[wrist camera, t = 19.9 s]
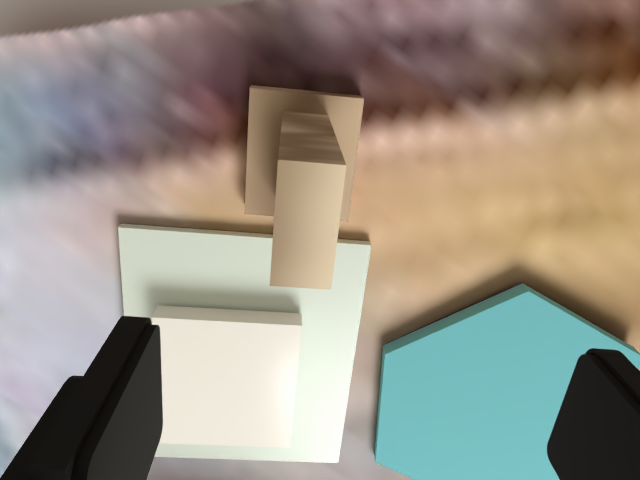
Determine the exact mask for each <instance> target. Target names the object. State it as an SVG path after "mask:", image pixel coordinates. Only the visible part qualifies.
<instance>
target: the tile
mask: <svg viewBox="0 0 640 480" xmlns="http://www.w3.org/2000/svg"><path fill="white" fill-rule="evenodd" d="M152 325H159V327H160V342H161V374H162V406H163V428H162V434H161V438H160V442H159V443H165V444H194V445H223V446H252V447H281V448H290V443H291V433H292V422H293V412H294V402H295V392H296V382H297V371H298V361H299V351H300V341H301V330H302V313H284V312H267V311H249V310H232V309H214V308H197V307H179V306H162V305H157V307H156V310H155V312H154V314H153V316H152Z"/></svg>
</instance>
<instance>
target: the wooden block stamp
mask: <svg viewBox="0 0 640 480" xmlns="http://www.w3.org/2000/svg"><path fill="white" fill-rule="evenodd" d="M363 103H364V98H363V97H362V96H360V95H350V94H339V93H329V92H318V91H308V90H297V89H287V88H277V87H266V86H256V85H251V87H250V91H249V116H248V140H247V165H246V190H245V214H250V215H264V216H274V227H273V242H272V257H271V272H270V286H278V287H295V288H311V289H327V290H331V288H332V279H333V271H334V263H335V255H336V247H337V239H338V230H339V222H340V221H345V222H348V218H349V211H350V203H351V195H352V188H353V180H354V172H355V165H356V157H357V149H358V141H359V134H360V126H361V118H362V111H363Z"/></svg>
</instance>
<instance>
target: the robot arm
mask: <svg viewBox="0 0 640 480" xmlns="http://www.w3.org/2000/svg"><path fill="white" fill-rule="evenodd" d="M162 428H163V406H162V374H161V342H160V327H159V325H152V322H151V319H150V318H148V317H134V316H122V317H121V318H120V319H119V321H118V322H117V324H116V325H115V327H114V329H113V330H112V332H111V333H110V335H109V336H108V338H107V340H106V341H105V343H104V344H103V346H102V347H101V349H100V351H99V352H98V354H97V355H96V357H95V359H94V360H93V362H92V363H91V365H90V366H89V368H88V370H87V371H86V373H85V374H84V376H72V377H69V378H68V379H67V381H66V382H65V383H64V384H63V386H62V387H61V389H60V390H59V392H58V393H57V395H56V396H55V398H54V399H53V401H52V402H51V404H50V405H49V407H48V408H47V410H46V411H45V413H44V414H43V416H42V417H41V419H40V420H39V422H38V423H37V425H36V426H35V427H34V429H33V430H32V432H31V433H30V435H29V436H28V438H27V439H26V441H25V442H24V444H23V445H22V447H21V448H20V450H19V451H18V453H17V454H16V456H15V457H14V459H13V460H12V462H11V463H10V465H9V466H8V468H7V469H6V471H5V472H4V474H3V475H2V476H1V478H0V480H146V479H147V476H148V473H149V470H150V467H151V464H152V462H153V459H154V456H155V453H156V450H157V447H158V444H159V442H160V438H161V434H162ZM547 455H548V459H549V461H550V463H551V465H552V467H553V468H554V470H555V472H556V474H557V476H558V477H559V479H560V480H640V371H639V370H638V369H637V368H636V367H635V366H634V365H633V364H632V363H631V362H630V361H629V360H628V358H627V357H626V356H625V355H624V354H623V353H621V352H620V351H618V350H612V349H597V348H591V349H589V350H588V351H587V352H586V353H585V354H582V355H581V356H580V357H579V358H578V360H577V363H576V366H575V369H574V371H573V374H572V377H571V380H570V382H569V385H568V388H567V391H566V393H565V396H564V399H563V402H562V405H561V407H560V410H559V413H558V416H557V418H556V421H555V424H554V427H553V429H552V432H551V435H550V438H549V440H548V444H547Z"/></svg>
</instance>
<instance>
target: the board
mask: <svg viewBox="0 0 640 480" xmlns="http://www.w3.org/2000/svg"><path fill="white" fill-rule="evenodd" d="M118 235H119V250H120V265H121V280H122V295H123V310H124V316H134V317H148V318H150V319H151V322H152V316H153V314H154V312H155V310H156V307H157V305H162V306H179V307H197V308H214V309H232V310H249V311H267V312H284V313H302V330H301V341H300V351H299V361H298V371H297V382H296V392H295V402H294V412H293V422H292V433H291V443H290V448H281V447H252V446H223V445H194V444H165V443H159V444H158V447H157V450H156V453H155V456H154V457H176V458H206V459H236V460H266V461H296V462H326V463H338V460H339V453H340V447H341V440H342V434H343V427H344V421H345V414H346V408H347V401H348V395H349V388H350V382H351V375H352V368H353V362H354V355H355V349H356V342H357V336H358V329H359V323H360V316H361V310H362V303H363V297H364V290H365V284H366V277H367V271H368V264H369V257H370V251H371V243H370V241H359V240H345V239H337V247H336V255H335V263H334V271H333V279H332V288H331V290H327V289H311V288H295V287H278V286H270V272H271V257H272V242H273V234H261V233H247V232H233V231H219V230H205V229H191V228H176V227H162V226H148V225H134V224H120V226H119V227H118Z"/></svg>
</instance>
